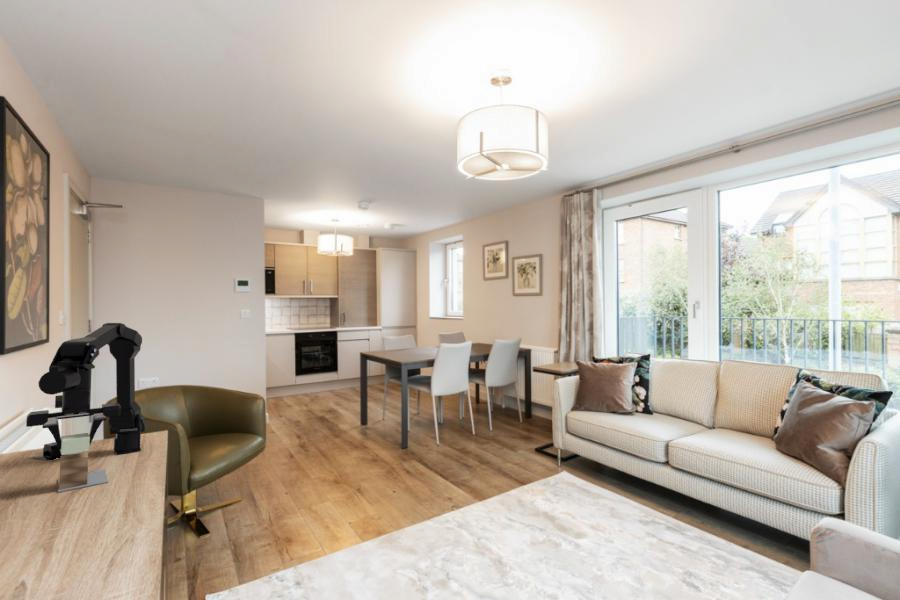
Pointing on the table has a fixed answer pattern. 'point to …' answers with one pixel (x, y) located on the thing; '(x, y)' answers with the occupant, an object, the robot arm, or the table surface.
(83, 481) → the walnut block lower
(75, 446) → the sage block
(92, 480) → the slate mat
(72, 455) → the walnut block upper
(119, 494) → the table surface
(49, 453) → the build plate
